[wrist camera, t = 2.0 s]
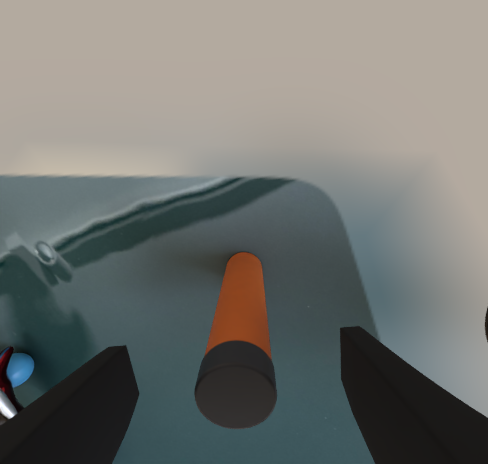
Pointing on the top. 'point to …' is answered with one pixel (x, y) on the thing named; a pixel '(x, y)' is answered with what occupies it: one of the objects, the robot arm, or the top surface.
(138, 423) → the top surface
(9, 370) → the hoverbike
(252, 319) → the marker
